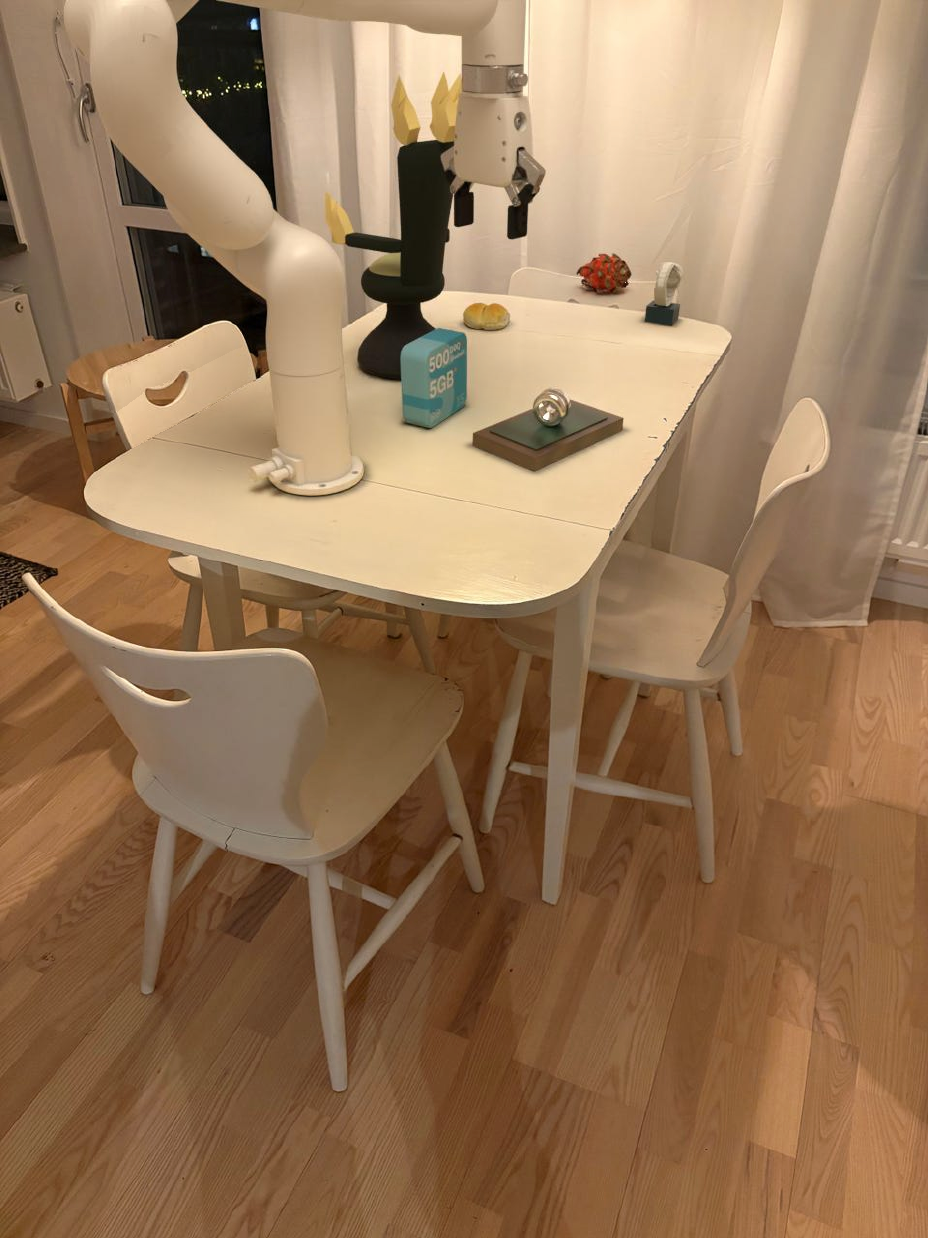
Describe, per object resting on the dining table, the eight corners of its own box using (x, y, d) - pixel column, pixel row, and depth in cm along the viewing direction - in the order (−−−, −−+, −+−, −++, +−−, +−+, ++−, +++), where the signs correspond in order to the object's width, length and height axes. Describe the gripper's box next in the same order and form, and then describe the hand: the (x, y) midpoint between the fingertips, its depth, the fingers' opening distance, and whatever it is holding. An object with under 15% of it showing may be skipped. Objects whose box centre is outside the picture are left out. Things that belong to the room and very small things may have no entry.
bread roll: (470, 316, 184) (471, 295, 182) (513, 320, 182) (514, 300, 179) (456, 327, 178) (456, 307, 175) (500, 333, 175) (500, 311, 173)
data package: (427, 431, 137) (425, 352, 130) (402, 425, 139) (399, 347, 132) (467, 405, 146) (467, 329, 139) (443, 399, 148) (442, 324, 141)
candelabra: (417, 340, 172) (410, 59, 146) (498, 372, 158) (506, 68, 132) (333, 362, 161) (310, 65, 136) (412, 399, 148) (402, 75, 122)
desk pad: (534, 471, 126) (535, 456, 125) (472, 445, 133) (472, 431, 132) (622, 430, 138) (624, 416, 137) (561, 408, 145) (562, 394, 144)
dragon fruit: (632, 303, 197) (578, 305, 201) (638, 271, 199) (585, 273, 204) (624, 275, 189) (569, 278, 194) (632, 242, 192) (576, 246, 197)
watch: (680, 317, 184) (688, 259, 177) (669, 328, 178) (676, 269, 172) (653, 313, 186) (660, 256, 180) (641, 324, 180) (647, 265, 174)
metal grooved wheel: (569, 423, 134) (572, 390, 132) (562, 430, 132) (565, 397, 129) (538, 417, 136) (539, 384, 133) (530, 424, 134) (532, 391, 131)
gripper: (567, 84, 108) (558, 237, 118) (464, 75, 118) (463, 217, 128) (524, 88, 104) (519, 247, 114) (421, 78, 114) (424, 225, 124)
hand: (489, 231), depth 121 cm, fingers open, 9 cm apart
